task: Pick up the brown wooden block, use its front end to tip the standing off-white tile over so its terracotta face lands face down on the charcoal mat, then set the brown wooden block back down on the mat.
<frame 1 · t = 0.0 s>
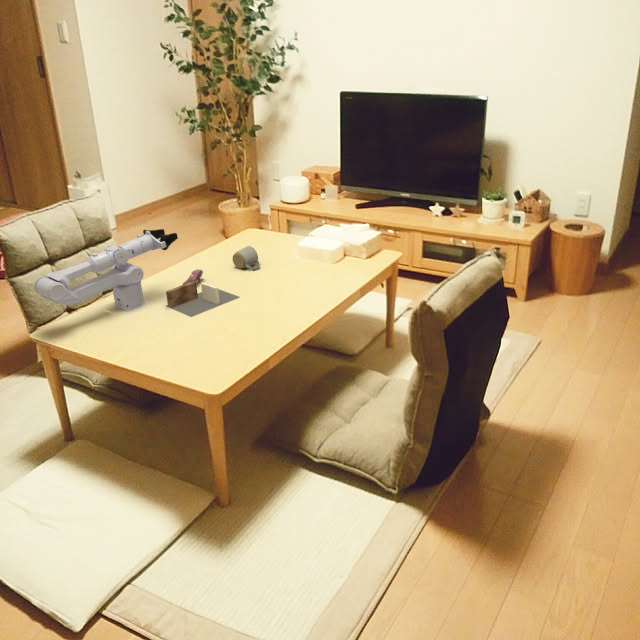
hand: (170, 233, 241), 22 cm above the table, tool horizontal, fingers open, 7 cm apart
pink irregular lump: (193, 285, 254), on the table
ceramic mug: (248, 267, 270), on the table
tile: (211, 301, 237), point 1 cm above the table, touching mat
mat: (203, 302, 237), on the table
brown wooden block: (183, 302, 237), point 1 cm above the table, touching mat
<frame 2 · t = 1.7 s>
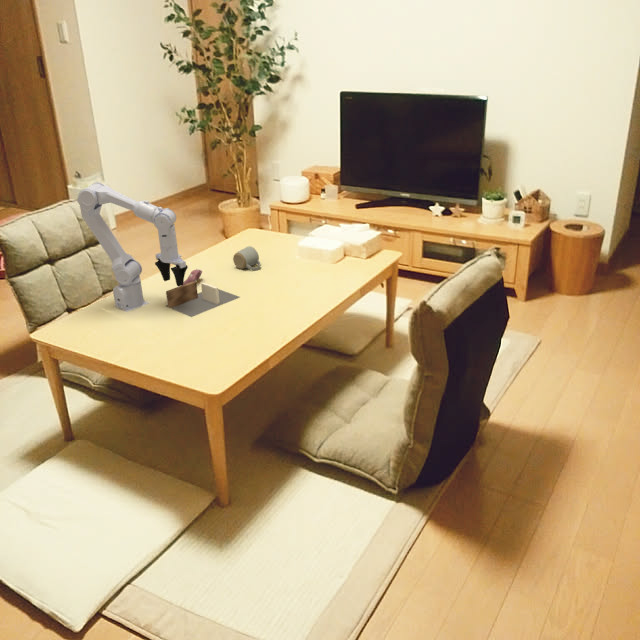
hand: (173, 282, 231), 9 cm above the table, tool pointing down, fingers open, 7 cm apart
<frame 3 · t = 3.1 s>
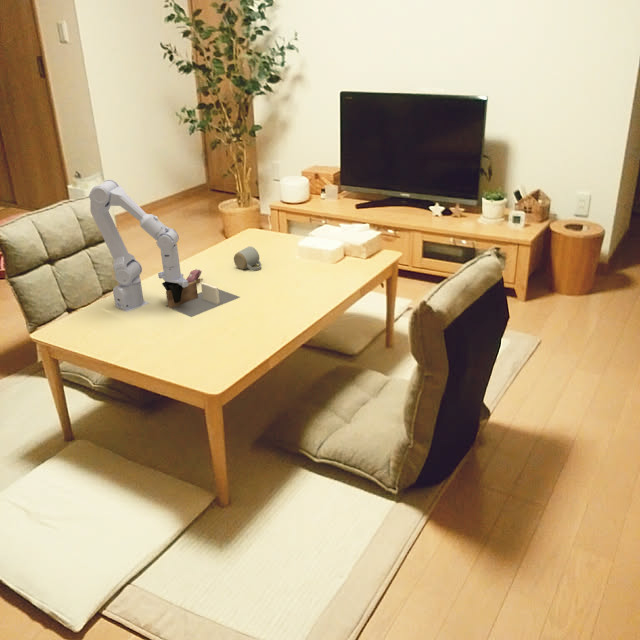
hand: (175, 301, 234), 2 cm above the table, tool pointing down, fingers closed on brown wooden block, 1 cm apart
brown wooden block: (183, 302, 237), point 1 cm above the table, touching gripper, mat
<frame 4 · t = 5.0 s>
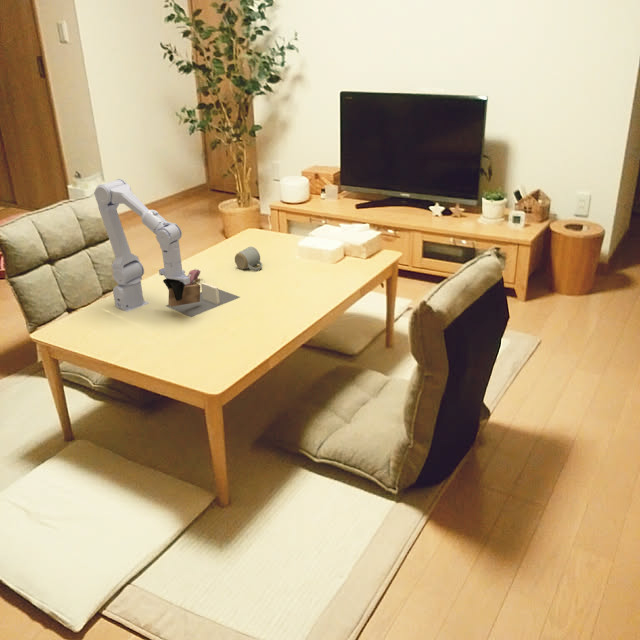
hand: (177, 299, 226), 6 cm above the table, tool pointing down, fingers closed on brown wooden block, 1 cm apart
brown wooden block: (184, 303, 228), point 3 cm above the table, tilted 10°, touching gripper
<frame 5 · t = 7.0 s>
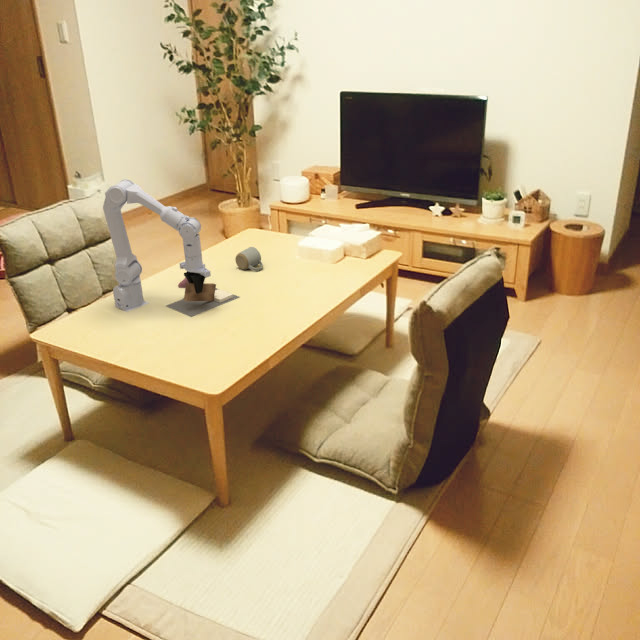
hand: (197, 291, 231), 6 cm above the table, tool pointing down, fingers closed on brown wooden block, 1 cm apart
tile: (212, 298, 238), point 1 cm above the table, tilted 90°, touching mat, brown wooden block
brown wooden block: (198, 300, 233), point 3 cm above the table, tilted 18°, touching gripper, tile
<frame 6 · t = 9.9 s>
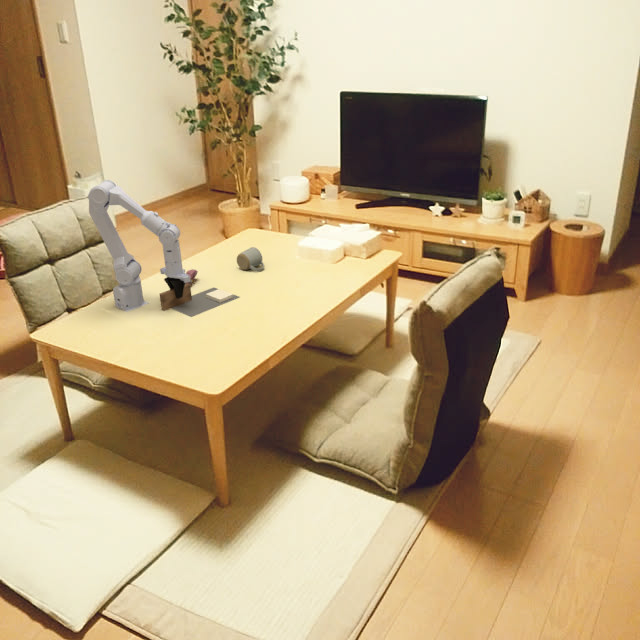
hand: (177, 296, 234), 3 cm above the table, tool pointing down, fingers closed on brown wooden block, 1 cm apart
tile: (212, 298, 238), point 1 cm above the table, tilted 90°, touching mat
brown wooden block: (177, 304, 235), point 1 cm above the table, touching gripper, mat
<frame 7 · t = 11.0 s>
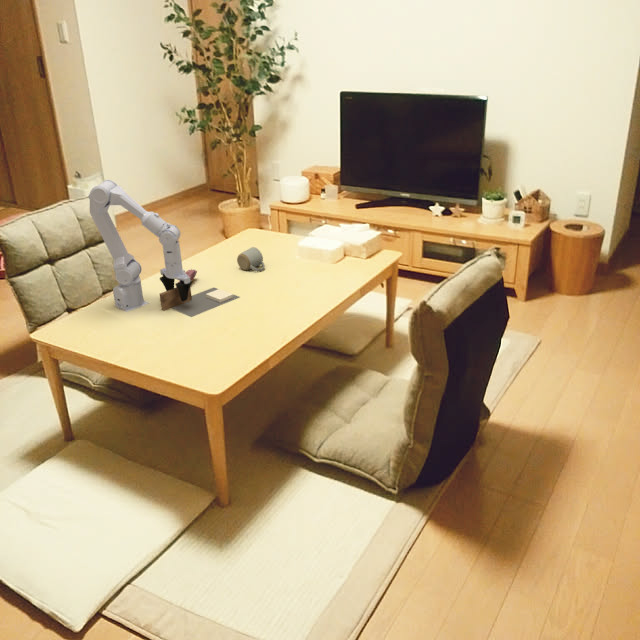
hand: (177, 297, 235), 3 cm above the table, tool pointing down, fingers open, 7 cm apart
brown wooden block: (177, 304, 235), point 1 cm above the table, touching mat
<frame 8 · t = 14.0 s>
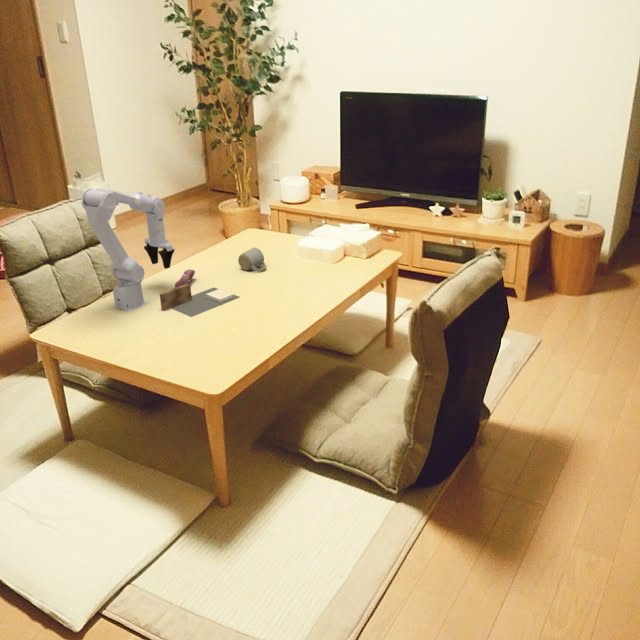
hand: (161, 265, 246), 9 cm above the table, tool pointing down, fingers open, 7 cm apart
at the end: tile tilted 90°; tile touching mat; the gripper is holding nothing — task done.
